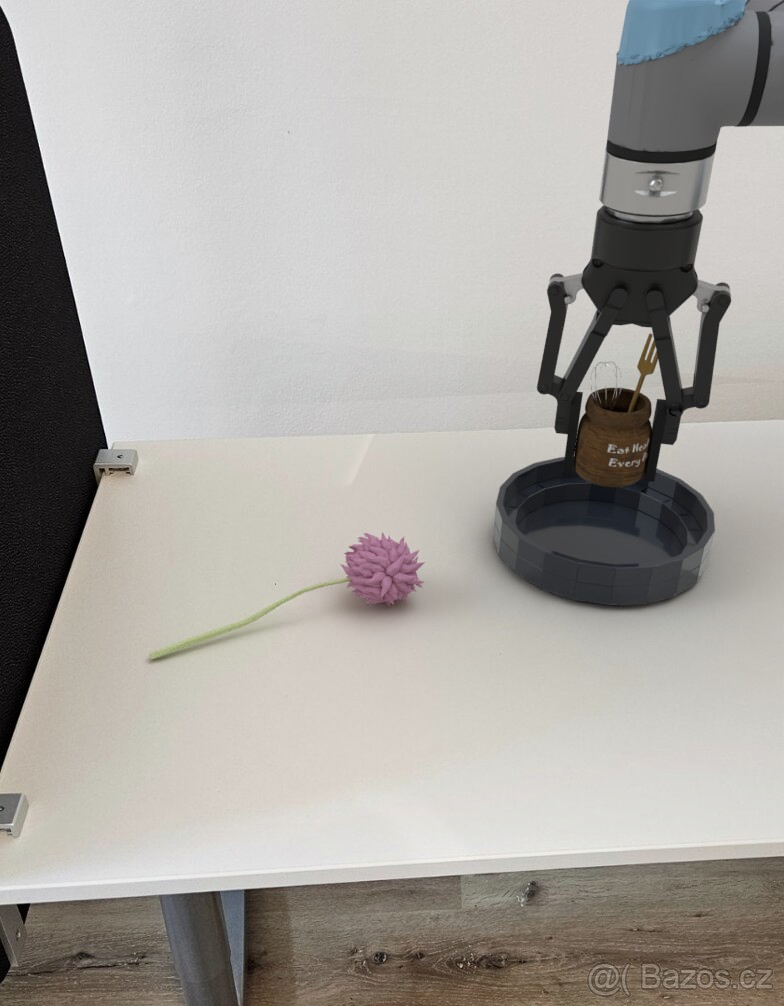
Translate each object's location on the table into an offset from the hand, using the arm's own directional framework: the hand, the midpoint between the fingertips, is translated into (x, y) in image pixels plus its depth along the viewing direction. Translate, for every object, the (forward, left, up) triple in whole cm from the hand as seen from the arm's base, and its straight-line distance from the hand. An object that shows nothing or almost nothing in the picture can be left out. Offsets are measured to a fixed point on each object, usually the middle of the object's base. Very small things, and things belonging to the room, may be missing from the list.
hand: (608, 468), depth 94 cm
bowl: (0, 0, -9) cm, 9 cm away
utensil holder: (0, 0, 0) cm, 0 cm away
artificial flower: (+24, +18, -9) cm, 31 cm away
